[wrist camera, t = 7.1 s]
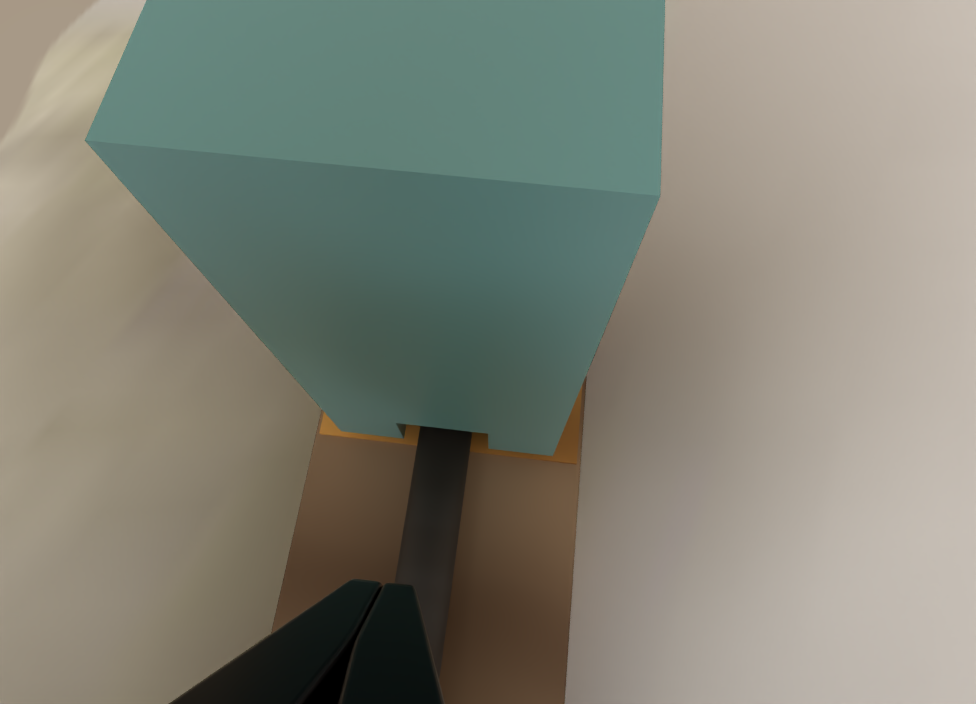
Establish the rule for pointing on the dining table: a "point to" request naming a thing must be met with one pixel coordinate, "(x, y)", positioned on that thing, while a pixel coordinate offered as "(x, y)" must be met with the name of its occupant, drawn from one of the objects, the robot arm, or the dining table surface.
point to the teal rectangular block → (403, 190)
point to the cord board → (450, 548)
